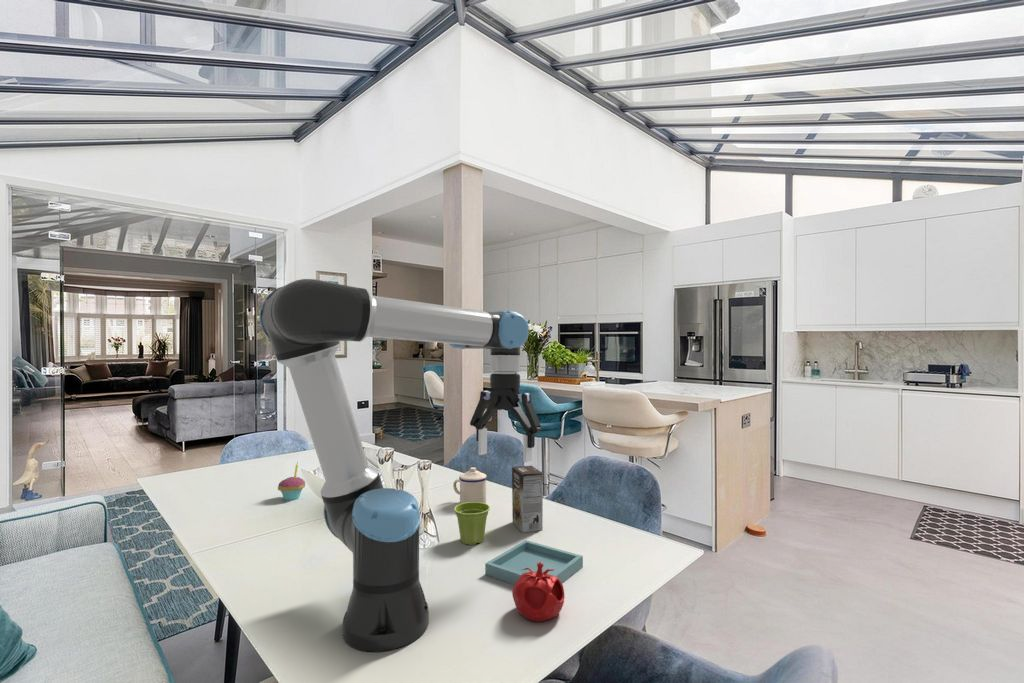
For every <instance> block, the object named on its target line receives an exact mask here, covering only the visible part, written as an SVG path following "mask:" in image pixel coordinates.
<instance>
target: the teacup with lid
mask: <svg viewBox="0 0 1024 683" xmlns="http://www.w3.org/2000/svg"><path fill="white" fill-rule="evenodd" d="M469 468H470V469H469V470H468V471H466V472H464V473H461V474H460V475H459V478H458V479H456V480H454V481H453V486H452V487H453V490H454V492H455V494H457V495H459V504H462V503H467V502H481V503H485V504H487V478H488V477H487V474H486V473H484V472H481V471H479V470H477V468H476V467H469ZM458 482H459V490H458V487H457V483H458Z"/></svg>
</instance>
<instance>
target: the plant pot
mask: <svg viewBox="0 0 1024 683" xmlns="http://www.w3.org/2000/svg"><path fill="white" fill-rule="evenodd" d="M490 509H491V506H490V505H489V504H487V503H486V504H485V503H481V502H467V503H462V504H460V503H458V504H457V505H455V507H454V508H453V510H454V512H455V515H456V518H457V524H458V529H459V537H460V542H462V543H463V544H465V545H471V546H472V545H476V544H478V543H479V544H481V543H482V542H484V540H485V534H486V533H485V532H486V526H487V519H488V518H487V517H488V515H489V511H490Z"/></svg>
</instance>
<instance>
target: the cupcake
mask: <svg viewBox="0 0 1024 683" xmlns="http://www.w3.org/2000/svg"><path fill="white" fill-rule="evenodd" d="M298 462H299V461H297V462H296V464H295V470H294V475H293V476H289V477H287V478H285V479H283V480H281V481H280V482H279V483H278V485H277V491H280V493H281V494H282V497H283V500H284V501H295V500H298V499H300V498H301V494H302V491H303V489H304V488H305V487H306V481H305V480H304V478H302V477H299V476H297V474H298V467H299V466H298V465H299V464H298Z"/></svg>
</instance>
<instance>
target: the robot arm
mask: <svg viewBox="0 0 1024 683" xmlns="http://www.w3.org/2000/svg"><path fill="white" fill-rule="evenodd" d="M259 323H260V327H261V329H262V331H263V332H264V335H265V336H266V337H267V339H269V340H270V343H271V345H272V349H273V353H274V354H275V358H276V361H277V363H279V364H280V365H284V366H285V367H287V368H288V369H289V372H290V376H291V378H292V381H293V385H294V388H295V391H296V395H297V397H298V400H299V405H300V406H301V409H302V412H303V416H304V418H305V422H306V426H307V427H308V432H309V434H310V435H309V436H310V437H311V441H312V443H313V446H314V447H313V448H314V449H315V452H316V455H317V459H318V462H319V465H320V467H321V471H322V475H323V477H324V480H325V481H324V484H323V485H322V487H321V488H320V495H321V496H320V497H321V498H322V501H323V517H324V522H325V524H326V526H327V529H328V530H329V532H330V533H331V534H332V535H333V536H334V537H335V538H337V539H338V540H339V541H340V542H342V544H344V546H345V547H346V548H348V550H349V551H350V552H351V553H352V575H353V576H352V578H353V580H352V584H353V585H352V591H351V593H350V597H349V601H348V604H347V608H346V611H345V613H344V615H343V619H342V638H343V640H344V642H345V643H346V644H348V645H349V646H350V647H352V648H354V649H357V650H360V651H366V652H383V651H385V652H386V651H391V650H395V649H398V648H401V647H404V646H406V645H409V644H411V643H412V642H414V641H416V640H417V639H419V638H420V637H421V636H422V635H423V634H424V633H425V631H426V630H427V628H428V626H429V624H430V622H429V621H430V619H429V617H430V616H429V614H430V613H429V612H430V610H429V605H428V602H427V601H426V600H427V599H426V597H425V593H424V590H423V587H422V585H421V584H422V583H421V581H420V524H421V516H420V515H421V514H420V512H419V511H420V510H419V509H420V508H419V503H418V500H417V499H416V497H415V496H414V495H413V494H412V493H411V492H409V491H405V490H402V489H396V488H390V487H385V488H384V486H383V481H382V478H381V475H380V472H379V470H378V468H376V467H374V466H370V465H369V463H368V459H367V456H366V453H365V451H364V450H365V449H364V446H363V443H362V440H361V437H360V433H359V431H358V427H357V424H356V421H355V417H354V414H353V411H352V407H351V403H350V400H349V398H348V394H347V390H346V387H345V385H344V382H343V378H342V374H341V371H340V368H339V364H338V362H337V358H336V352H337V351H338V349H339V348H340V342H363V341H364V340H365V339H366V338H375V339H377V338H379V339H391V340H392V339H393V340H401V341H402V340H403V341H413V342H428V343H439V344H449V346H450V347H452V348H454V349H461V350H464V349H468V350H469V349H473V350H474V349H475V350H478V349H479V350H480V349H481V350H482V349H483V350H484V349H485V350H486V349H487V350H490V357H489V358H490V359H489V360H490V361H489V363H490V365H489V366H490V367H489V371H490V372H492V373H490V375H489V376H490V377H489V380H490V381H489V386H490V389H491V390H481V391H480V395H479V400H478V403H477V406H476V407H475V409H474V412H473V415H472V417H471V419H470V422H469V425H470V426H471V427H474V428H475V429H476V433H475V434H476V436H475V437H476V442H478V445H477V446H478V447H477V448H478V452H477V454H478V456H484V455H486V454H487V453H488V428H486V426H487V425H488V423H489V422H490V420H491V419H492V417H493V416H494V414H496V412H497V411H498V410H499V411H510V413H512V414H513V415H514V417H515V418H516V419H517V421H518V423H519V424H520V426H521V427H522V430H524V432H525V434H523V436H522V437H523V442H522V443H523V448H522V449H523V455H522V456H523V459H522V460H523V463H528V462H530V461H531V462H532V459H533V458H532V456H533V455H532V453H533V451H532V450H533V448H534V447H535V444H536V443H535V440H536V439H535V436H536V434H537V433H541V432H542V431H543V427H542V425H541V422H540V419H539V417H538V415H537V413H536V410H535V408H534V405H533V402H532V396H531V395H532V394H531V393H530V392H525V393H520V387H521V375H520V374H519V372H520V371H521V347H522V346H523V345H524V344H525V343H526V342H527V340H528V337H529V334H530V333H529V332H530V327H529V323H528V321H527V319H526V318H525V317H524V316H523V315H522V314H520V313H518V312H517V311H514V310H513V311H512V310H508V311H507V310H496V311H484V310H478V309H471V308H463V307H457V306H450V305H442V304H435V303H430V302H429V303H428V302H421V301H413V300H409V299H408V300H407V299H399V298H393V297H385V296H377V295H372V293H371V292H370V291H369V289H367V288H362V287H357V286H356V287H355V286H351V285H346V284H340V283H337V282H331V281H326V280H321V279H316V278H315V279H314V278H301V279H296V280H293V281H290V282H289V283H287V284H285V285H282V286H280V287H278V288H276V289H275V290H273V291H271V292H270V293H269V294H268V295H267V296H266V298H265V299H264V301H263V303H262V304H261V307H260V310H259ZM490 400H491V402H490V404H489V401H490ZM519 402H521V404H520V403H519ZM488 404H489V405H488ZM521 405H522V406H521ZM487 406H488V407H487ZM522 407H523V408H522ZM485 410H486V411H485ZM523 410H524V411H523Z"/></svg>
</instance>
